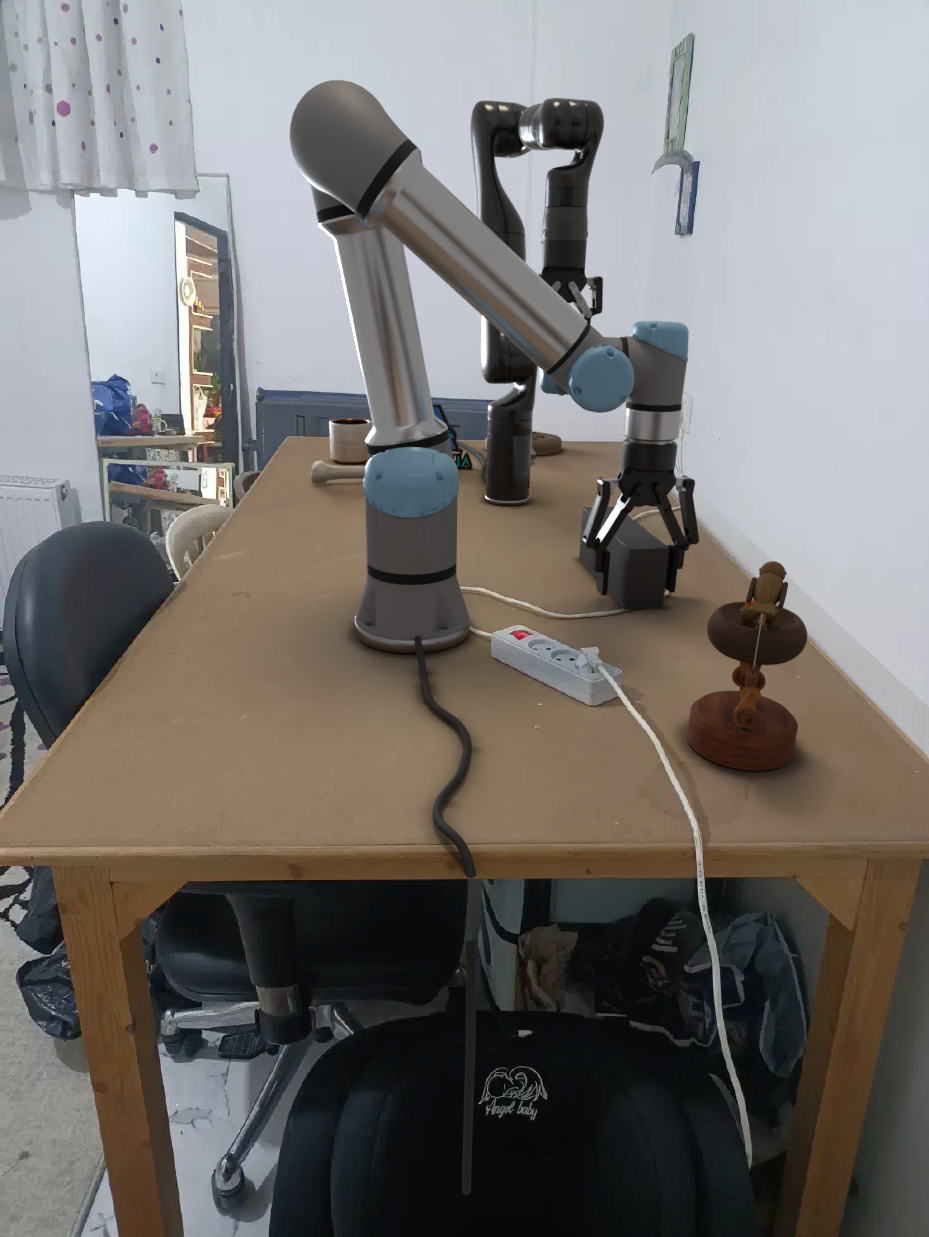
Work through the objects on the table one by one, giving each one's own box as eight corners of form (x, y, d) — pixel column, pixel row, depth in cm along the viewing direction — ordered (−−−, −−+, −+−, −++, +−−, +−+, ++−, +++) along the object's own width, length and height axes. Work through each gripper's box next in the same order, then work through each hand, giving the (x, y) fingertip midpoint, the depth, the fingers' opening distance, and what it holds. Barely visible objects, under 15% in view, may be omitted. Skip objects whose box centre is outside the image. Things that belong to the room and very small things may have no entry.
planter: (327, 456, 217) (325, 418, 214) (369, 454, 220) (368, 417, 217) (334, 465, 208) (332, 425, 204) (377, 463, 211) (376, 424, 207)
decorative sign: (472, 466, 209) (473, 404, 203) (471, 468, 206) (473, 406, 201) (396, 464, 210) (395, 402, 204) (394, 466, 207) (393, 404, 202)
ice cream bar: (490, 464, 211) (490, 447, 209) (483, 443, 237) (483, 428, 235) (573, 465, 212) (575, 448, 210) (557, 444, 238) (558, 429, 236)
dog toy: (399, 478, 195) (399, 457, 193) (401, 484, 190) (401, 462, 188) (310, 480, 192) (309, 458, 190) (310, 486, 187) (309, 464, 185)
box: (662, 607, 123) (669, 547, 119) (624, 609, 122) (629, 549, 118) (612, 558, 144) (617, 506, 140) (579, 559, 143) (582, 507, 139)
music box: (815, 783, 80) (835, 585, 73) (696, 783, 82) (704, 589, 74) (778, 707, 94) (791, 534, 87) (677, 708, 96) (682, 538, 88)
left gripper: (714, 433, 122) (696, 579, 131) (564, 435, 119) (555, 585, 127) (738, 443, 115) (717, 596, 124) (579, 446, 112) (569, 603, 120)
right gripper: (598, 240, 145) (591, 339, 151) (517, 238, 143) (513, 338, 149) (612, 238, 138) (604, 342, 144) (527, 236, 136) (523, 342, 142)
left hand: (635, 590), depth 125 cm, fingers open, 10 cm apart
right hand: (558, 340), depth 147 cm, fingers open, 8 cm apart
